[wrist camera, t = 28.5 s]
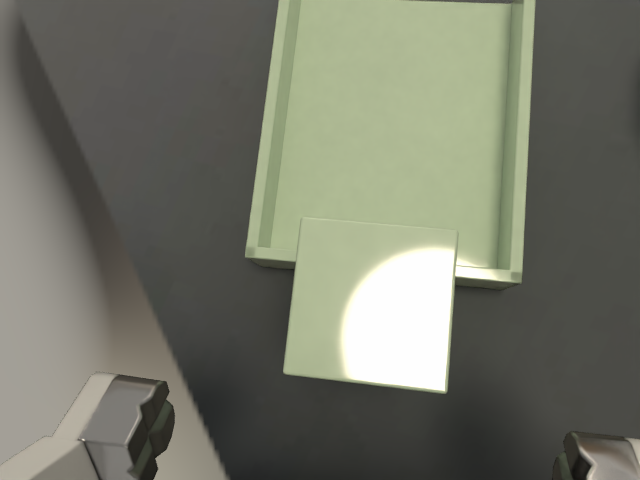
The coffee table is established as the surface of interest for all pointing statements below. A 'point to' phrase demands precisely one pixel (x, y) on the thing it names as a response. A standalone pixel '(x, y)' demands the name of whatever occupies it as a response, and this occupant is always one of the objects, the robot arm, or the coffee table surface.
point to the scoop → (391, 177)
